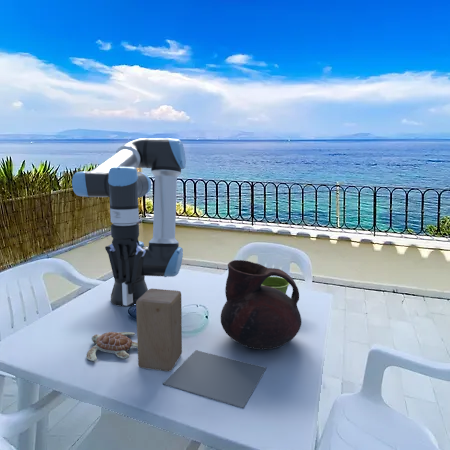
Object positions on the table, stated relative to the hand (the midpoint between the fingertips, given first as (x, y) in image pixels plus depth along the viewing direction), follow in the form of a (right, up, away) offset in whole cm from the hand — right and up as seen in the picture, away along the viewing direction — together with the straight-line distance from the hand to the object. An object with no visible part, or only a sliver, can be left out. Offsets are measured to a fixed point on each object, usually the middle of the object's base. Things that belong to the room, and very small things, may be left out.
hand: (127, 303), depth 106 cm
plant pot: (+46, -10, +35) cm, 59 cm away
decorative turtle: (-6, -15, +6) cm, 17 cm away
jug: (+39, -14, +11) cm, 43 cm away
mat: (+26, -18, -8) cm, 32 cm away
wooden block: (+10, -16, -1) cm, 19 cm away
